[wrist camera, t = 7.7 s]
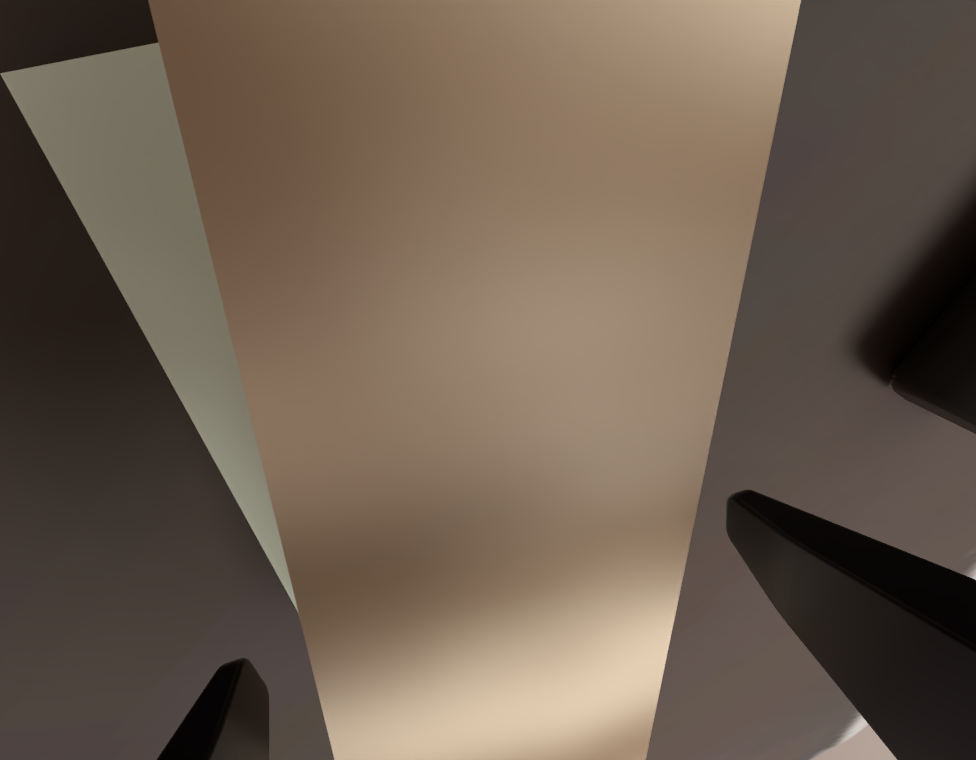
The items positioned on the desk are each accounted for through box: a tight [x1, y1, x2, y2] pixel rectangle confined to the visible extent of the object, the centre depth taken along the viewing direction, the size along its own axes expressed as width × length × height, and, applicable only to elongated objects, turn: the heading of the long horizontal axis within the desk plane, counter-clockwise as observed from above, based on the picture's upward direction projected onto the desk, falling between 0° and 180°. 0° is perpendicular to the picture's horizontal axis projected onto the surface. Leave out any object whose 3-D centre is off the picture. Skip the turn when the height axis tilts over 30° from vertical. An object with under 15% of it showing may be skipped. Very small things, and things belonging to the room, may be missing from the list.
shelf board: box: [148, 0, 801, 760], centre depth 11 cm, size 18×7×3 cm, turn 1°
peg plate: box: [0, 43, 298, 611], centre depth 15 cm, size 20×14×6 cm
